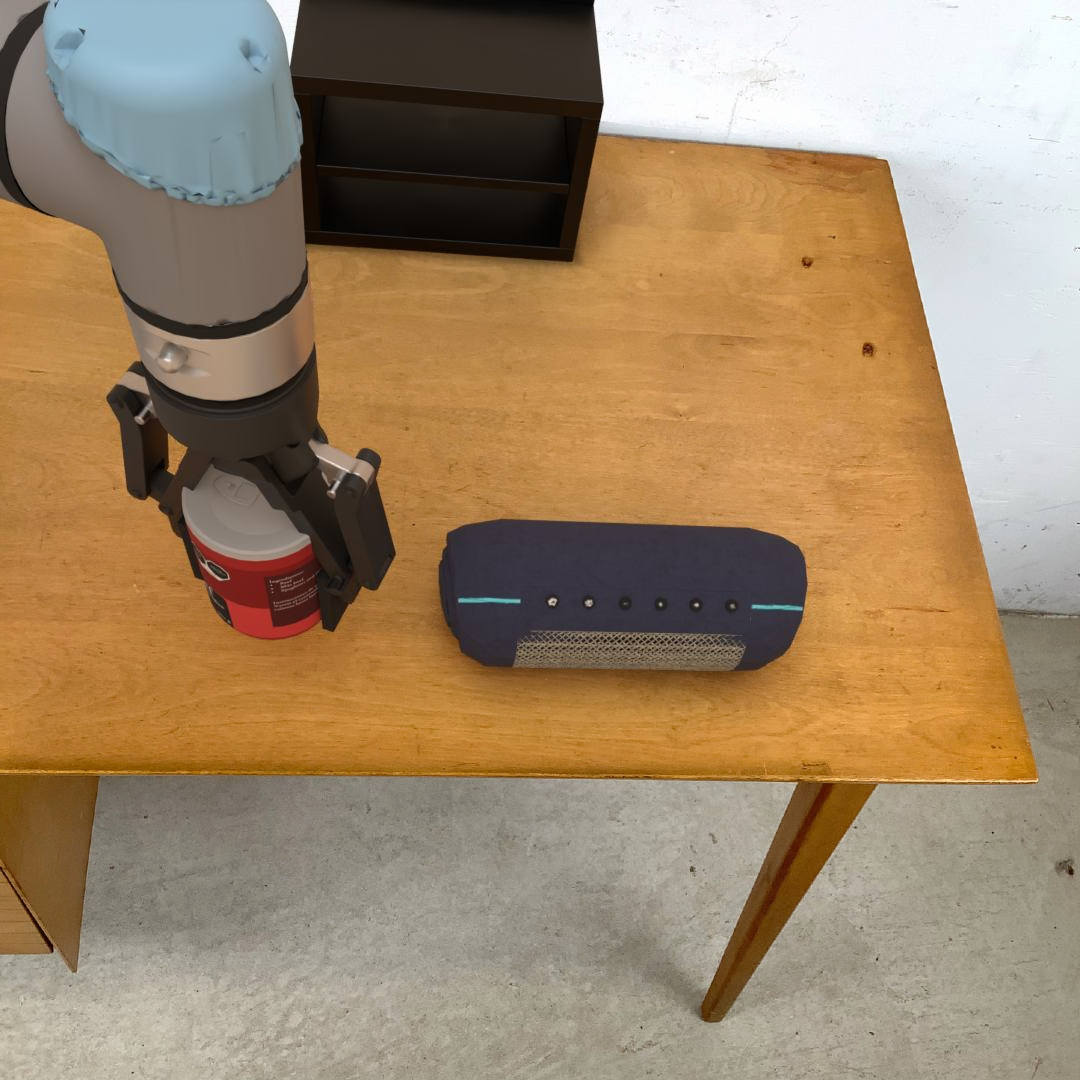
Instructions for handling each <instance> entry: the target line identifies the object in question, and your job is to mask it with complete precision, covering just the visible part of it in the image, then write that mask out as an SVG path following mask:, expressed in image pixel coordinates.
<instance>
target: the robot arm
mask: <svg viewBox="0 0 1080 1080" xmlns="http://www.w3.org/2000/svg"><path fill="white" fill-rule="evenodd" d="M287 44H288V43H287V39H286V36H285V32H284V29H283V26H282V24H281V22H280V20H279V17H278V16H277V13H276V12H275V11H274V9H273V7H272V5H271V4H270V3H269V2H268V0H0V199H1V200H4V201H6V202H10V203H11V204H12V203H13V204H15V205H18V206H21V207H24V208H26V209H30V210H32V211H34V212H37V213H39V214H42V215H45V216H47V217H52V218H56V219H60V220H63V221H66V222H68V223H71V224H74V225H76V226H78V227H81V228H82V229H83V228H84V229H86V230H88V231H91V232H92V233H93V234H95V235H96V236H98V238H99V239H100V240H101V241H102V243H103V245H104V248H105V252H106V253H107V257H108V259H109V263H110V266H111V273H112V275H113V277H114V282H115V285H116V287H117V291H118V293H119V295H120V298H121V301H122V304H123V307H124V311H125V313H126V317H127V320H128V323H129V327H130V330H131V333H132V336H133V340H134V342H135V346H136V349H137V352H138V356H139V358H140V360H135V361H133V362H132V364H130V366H129V367H128V368H127V370H126V371H125V372H124V373H123V375H122V376H121V378H119V380H118V381H117V382H116V383H115V385H114V386H113V387H112V388H111V390H110V391H109V392H108V393H107V394H106V397H105V399H106V402H107V405H109V407H110V409H111V411H112V412H113V414H114V416H115V418H116V419H117V422H118V423H119V431H120V439H121V449H122V458H123V468H124V476H125V486H126V487H125V488H126V491H127V493H128V494H129V495H130V496H131V497H132V498H134V499H136V500H139V501H142V502H143V501H146V500H147V499H148V498H150V499H153V500H154V501H156V502H157V503H158V505H157V508H158V510H159V511H160V512H161V513H162V514H164V515H165V516H167V519H168V522H169V524H170V527H171V531H172V532H173V534H174V535H175V536H176V538H177V537H178V538H179V539H181V540H182V543H183V545H184V549H185V553H186V554H187V555H186V556H187V558H188V561H189V565H190V567H191V571H192V573H193V577H194V578H195V579H197V580H200V581H202V582H204V579H203V576H202V573H201V570H200V567H199V563H198V560H197V557H196V554H195V551H194V548H193V544H192V541H191V538H190V535H189V532H188V528H187V525H186V522H185V517H184V514H183V507H182V490H183V487H186V488H188V489H190V490H192V491H193V490H194V489H195V487H196V486H197V484H198V483H199V481H200V480H201V478H202V477H203V476H204V474H205V473H206V471H207V470H208V468H209V467H210V465H211V464H213V467H214V469H217V470H219V471H222V472H224V473H227V474H231V475H235V476H240V477H242V478H244V479H246V480H248V481H250V482H252V483H253V484H255V485H256V486H257V487H258V489H259V490H260V492H261V493H262V494H263V496H264V497H265V499H266V500H267V502H268V503H269V504H270V506H271V507H272V508H273V509H275V510H281V511H284V512H285V513H286V515H287V516H288V517H289V519H290V520H291V522H292V523H293V525H294V526H295V528H296V529H297V530H298V532H299V533H302V534H306V535H308V536H309V537H310V541H311V545H312V552H313V553H314V555H315V556H316V558H317V559H318V561H319V562H320V564H321V565H322V566H323V568H322V570H321V572H320V573H319V575H318V577H317V584H318V593H319V602H320V611H321V628H322V629H323V630H326V631H327V632H330V633H333V634H334V633H335V631H336V629H337V627H338V626H339V623H340V622H341V620H342V618H343V615H344V614H345V612H346V610H347V609H348V607H349V605H351V606H352V604H354V603H355V601H356V599H357V597H358V596H359V594H360V592H361V590H362V587H363V588H364V589H367V590H369V591H372V592H375V591H378V590H379V588H380V586H381V584H382V582H383V580H384V579H385V577H386V575H387V573H388V571H389V569H390V567H391V565H392V564H393V561H394V560H395V557H396V556H397V551H396V548H395V545H394V541H393V536H392V533H391V528H390V525H389V522H388V518H387V514H386V510H385V506H384V503H383V499H382V496H381V495H382V494H381V491H380V488H379V483H378V479H377V477H378V474H379V471H380V468H381V464H382V457H381V456H380V454H379V453H377V452H376V451H375V450H373V449H371V448H368V447H361V448H360V449H359V451H358V452H357V454H356V455H355V456H353V455H350V454H349V453H346V452H344V451H343V450H340V449H339V448H337V447H334V446H332V445H331V444H329V438H328V434H327V433H326V431H325V430H324V428H323V427H322V426H321V424H320V422H319V420H318V414H319V413H318V412H319V405H320V404H319V403H320V383H319V371H318V357H317V347H316V346H317V345H316V342H315V340H316V329H315V318H314V307H313V295H312V287H311V286H312V284H311V276H310V263H309V261H308V248H307V247H308V246H307V244H306V243H305V234H304V217H303V200H302V184H301V167H300V160H301V154H300V146H301V145H302V144H303V134H302V123H301V116H300V111H299V108H298V105H297V103H296V100H295V98H294V93H293V86H292V79H291V72H290V59H289V52H288V46H287ZM169 436H170V437H171V438H173V439H174V440H175V441H176V442H178V443H179V444H180V445H182V446H184V447H185V448H186V450H185V454H184V455H183V457H182V459H181V461H180V462H179V464H178V466H177V470H176V471H175V474H173V473H172V472H170V471H169V468H170V453H169ZM322 472H323V473H324V474H325V475H326V477H327V480H328V483H329V486H328V485H327V483H326V481H325V480H324V478H323V476H322Z"/></svg>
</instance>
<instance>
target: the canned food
mask: <svg viewBox="0 0 1080 1080" xmlns="http://www.w3.org/2000/svg"><path fill="white" fill-rule="evenodd" d="M322 476H323V478H324V480H325V481H326V483H327V485H328V486H329V487H330V484H329V483H328V480H327V477H326V475H325V474H324V473H323V472H322ZM182 507H183V514H184V517H185V522H186V525H187V528H188V532H189V535H190V538H191V541H192V544H193V548H194V551H195V554H196V557H197V560H198V563H199V567H200V570H201V573H202V576H203V579H204V581H203V582H204V585H205V589H206V592H207V595H208V599H209V602H210V604H211V606H212V607H213V609H214V611H215V613H216V614H217V616H219V617H220V619H221V620H223V622H224V623H225V624H226V625H228V626H230V627H231V628H233V629H234V630H235V631H237V632H238V633H240V634H242V635H245V636H247V637H249V638H253V639H256V640H257V639H258V640H263V641H264V640H265V641H282V640H288V639H291V638H295V637H297V636H300V635H302V634H304V633H306V632H308V631H310V630H311V629H313V628H314V627H316V626H317V625H318V624H319V623H320V622H322V620H321V611H320V602H319V593H318V584H317V577H318V575H319V573H320V572H321V570H322V568H323V566H322V565H321V564H320V562H319V561H318V559H317V558H316V556H315V555H314V553H313V552H312V545H311V541H310V537H309V536H308V535H306V534H302V533H299V532H298V530H297V529H296V528H295V526H294V525H293V523H292V522H291V520H290V519H289V517H288V516H287V515H286V513H285V512H284V511H281V510H275V509H273V508H272V507H271V506H270V504H269V503H268V502H267V500H266V499H265V497H264V496H263V494H262V493H261V492H260V490H259V489H258V487H257V486H256V485H255V484H253V483H252V482H250V481H248V480H246V479H244V478H242V477H240V476H235V475H231V474H227V473H224V472H222V471H219V470H217V469H214V467H213V464H211V465H210V467H209V468H208V470H207V471H206V473H205V474H204V476H203V477H202V478H201V480H200V481H199V483H198V484H197V486H196V487H195V489H194V490H193V491H192V490H190V489H188V488H186V487H183V490H182Z"/></svg>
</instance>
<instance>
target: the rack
mask: <svg viewBox="0 0 1080 1080" xmlns="http://www.w3.org/2000/svg"><path fill="white" fill-rule="evenodd" d="M595 1H596V0H299V2H298V3H299V4H298V11H297V18H296V23H295V30H294V36H293V43H292V48H291V49H292V50H291V57H290V61H289V65H290V72H291V79H292V86H293V93H294V98H295V100H296V103H297V105H298V108H299V111H300V116H301V123H302V134H303V144H302V145H301V146H300V154H301V160H300V167H301V184H302V200H303V217H304V234H305V244H306V245H307V244H309V245H323V246H338V247H350V248H351V247H352V248H367V249H381V250H382V249H383V250H396V251H408V252H409V251H410V252H424V253H425V252H426V253H438V254H439V253H440V254H454V255H455V254H456V255H469V256H483V257H496V258H497V257H499V258H511V259H527V260H540V261H543V260H544V261H556V262H557V261H558V262H571V263H572V262H573V261H574V256H575V251H576V247H577V241H578V236H579V230H580V226H581V221H582V215H583V212H584V205H585V201H586V196H587V191H588V186H589V180H590V176H591V170H592V166H593V161H594V155H595V150H596V145H597V141H598V135H599V131H600V125H601V120H602V116H603V112H604V111H603V110H604V105H605V100H604V99H605V98H604V88H603V82H602V79H603V78H602V70H601V61H600V51H599V42H598V32H597V22H596V13H595Z"/></svg>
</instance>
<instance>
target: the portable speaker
mask: <svg viewBox="0 0 1080 1080" xmlns="http://www.w3.org/2000/svg"><path fill="white" fill-rule="evenodd" d="M445 543H446V545H445V547H444V548H443V549H442V553H441V560H440V561H439V563H438V589H439V598H440V599H439V600H440V606H441V609H442V610H441V611H442V614H443V617H444V621H445V622H444V623H445V624H446V625H447V627H448V629H450V632H451V634H452V636H453V637H454V638H455V639H456V640H457V641H458V647H459V650H460V653H461V654H463V655H465V656H466V657H468V658H470V659H472V660H473V661H475V662H476V663H479V664H480V665H482V666H483V667H495V668H519V669H520V668H530V669H531V668H532V669H536V668H537V669H586V670H587V669H588V670H589V669H590V670H591V669H593V670H598V669H599V670H604V669H605V670H648V671H650V670H653V671H654V670H655V671H658V670H659V671H665V670H666V671H707V672H708V671H709V672H710V671H714V672H719V671H720V672H750V671H751V672H752V671H757V670H760V669H762V668H764V667H765V666H767V665H769V664H770V663H772V662H774V661H776V660H778V659H779V658H781V657H783V656H784V654H785V653H786V652H787V651H788V650H789V649H790V648H791V647H792V644H793V642H794V640H795V637H796V635H797V633H798V630H799V628H800V626H801V624H802V622H803V618H804V611H805V605H806V598H807V593H808V586H809V583H808V574H807V572H808V571H807V565H806V558H805V554H803V551H802V549H801V548H800V546H799V545H798V544H796V543H794V542H792V541H790V540H789V539H787V538H785V537H784V536H782V535H779V534H775V533H772V532H768V531H763V530H759V529H755V528H752V527H746V526H745V527H743V526H742V527H740V526H718V525H717V526H715V525H688V524H687V525H685V524H660V523H659V524H658V523H657V524H656V523H633V522H632V523H631V522H630V523H629V522H603V521H601V522H600V521H579V520H578V521H577V520H576V521H575V520H573V521H572V520H551V519H550V520H548V519H547V520H546V519H545V520H544V519H523V518H521V519H519V518H518V519H517V518H497V519H491V520H486V521H478V522H473V523H467V524H463V525H461V526H459V527H457V528H454V529H452V530H450V531H447V532H446V539H445Z"/></svg>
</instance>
